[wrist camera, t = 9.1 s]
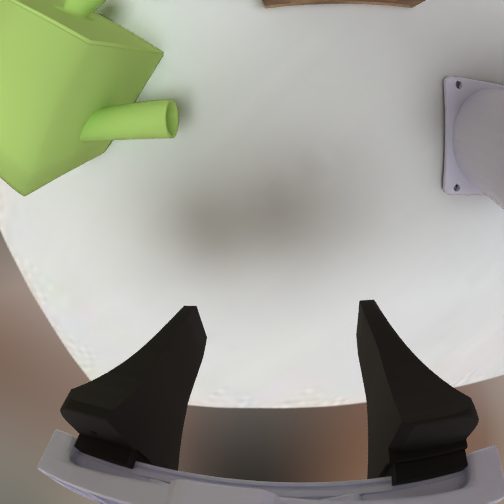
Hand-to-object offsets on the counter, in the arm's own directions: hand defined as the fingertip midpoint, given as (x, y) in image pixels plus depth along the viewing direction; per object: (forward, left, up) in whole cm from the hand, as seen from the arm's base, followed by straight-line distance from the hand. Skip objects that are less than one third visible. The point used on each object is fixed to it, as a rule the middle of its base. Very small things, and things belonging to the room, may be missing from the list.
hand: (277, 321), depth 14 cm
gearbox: (+11, -14, -10) cm, 20 cm away
